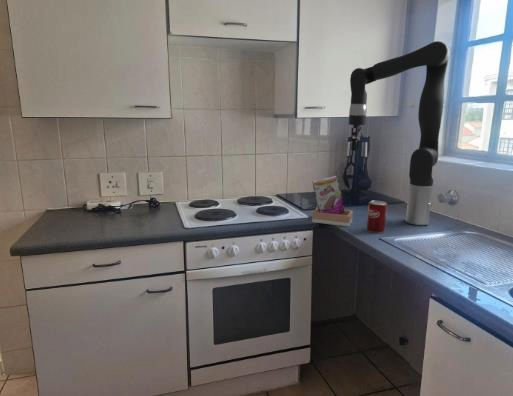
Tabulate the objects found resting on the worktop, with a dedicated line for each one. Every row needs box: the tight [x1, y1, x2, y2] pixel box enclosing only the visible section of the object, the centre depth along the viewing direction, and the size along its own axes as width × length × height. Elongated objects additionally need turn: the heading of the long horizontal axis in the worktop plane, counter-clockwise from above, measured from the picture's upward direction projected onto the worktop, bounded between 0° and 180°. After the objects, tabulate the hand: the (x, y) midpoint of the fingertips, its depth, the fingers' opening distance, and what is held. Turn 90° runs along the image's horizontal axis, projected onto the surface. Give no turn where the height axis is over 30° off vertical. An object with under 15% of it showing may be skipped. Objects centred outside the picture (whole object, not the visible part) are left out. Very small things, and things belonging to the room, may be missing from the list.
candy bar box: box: [312, 175, 345, 214], centre depth 167 cm, size 11×5×16 cm, turn 82°
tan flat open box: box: [311, 206, 354, 227], centre depth 169 cm, size 16×10×4 cm, turn 69°
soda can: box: [366, 200, 388, 234], centre depth 156 cm, size 7×7×12 cm
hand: (354, 149), depth 179 cm, fingers open, 8 cm apart
